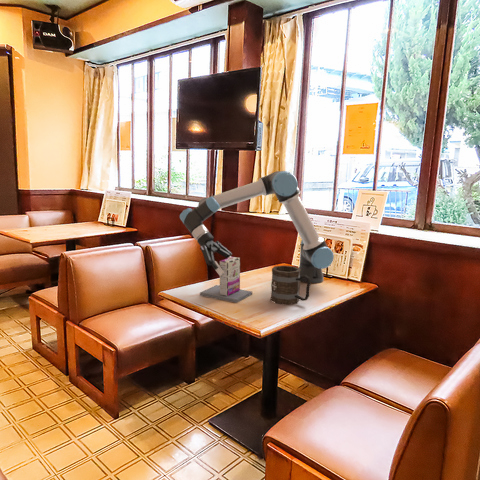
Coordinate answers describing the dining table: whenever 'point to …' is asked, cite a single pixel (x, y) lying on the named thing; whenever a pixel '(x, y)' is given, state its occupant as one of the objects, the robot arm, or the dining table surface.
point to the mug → (287, 285)
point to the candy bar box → (230, 276)
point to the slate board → (235, 297)
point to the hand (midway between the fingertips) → (229, 271)
